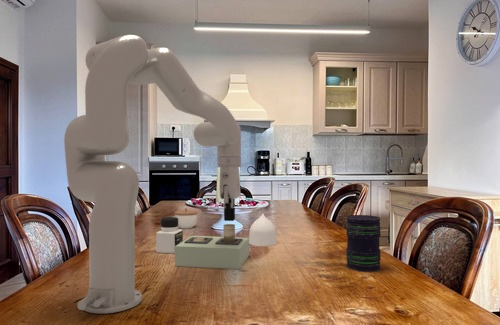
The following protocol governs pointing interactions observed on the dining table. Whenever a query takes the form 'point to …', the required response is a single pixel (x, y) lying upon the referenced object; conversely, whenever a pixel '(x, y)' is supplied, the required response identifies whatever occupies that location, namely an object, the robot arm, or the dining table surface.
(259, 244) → the teardrop
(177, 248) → the sage block
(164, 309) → the dining table surface
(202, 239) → the peg left
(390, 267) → the dining table surface
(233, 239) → the peg right
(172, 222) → the medicine bottle
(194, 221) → the lidded jar
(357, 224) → the storage jar
